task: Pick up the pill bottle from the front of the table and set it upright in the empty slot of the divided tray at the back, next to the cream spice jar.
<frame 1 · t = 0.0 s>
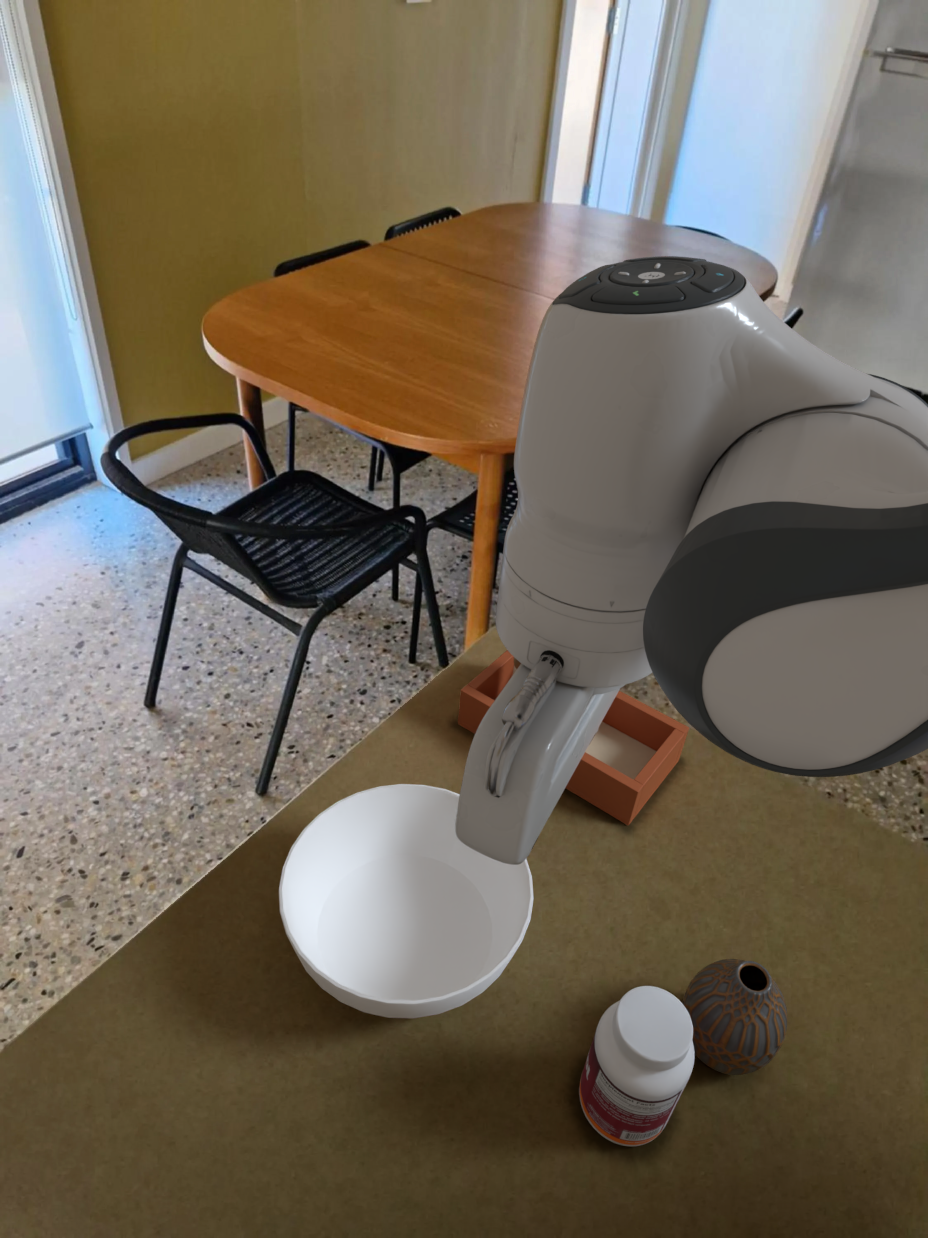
hand: (550, 786, 52), 22 cm above the counter, tool pointing down, fingers open, 8 cm apart
pill bottle: (622, 1102, 60), on the counter
divided tray: (566, 742, 86), on the counter
bowl: (405, 938, 69), on the counter
spice jar: (529, 716, 87), point 1 cm above the counter, touching divided tray
vase: (719, 1041, 64), on the counter
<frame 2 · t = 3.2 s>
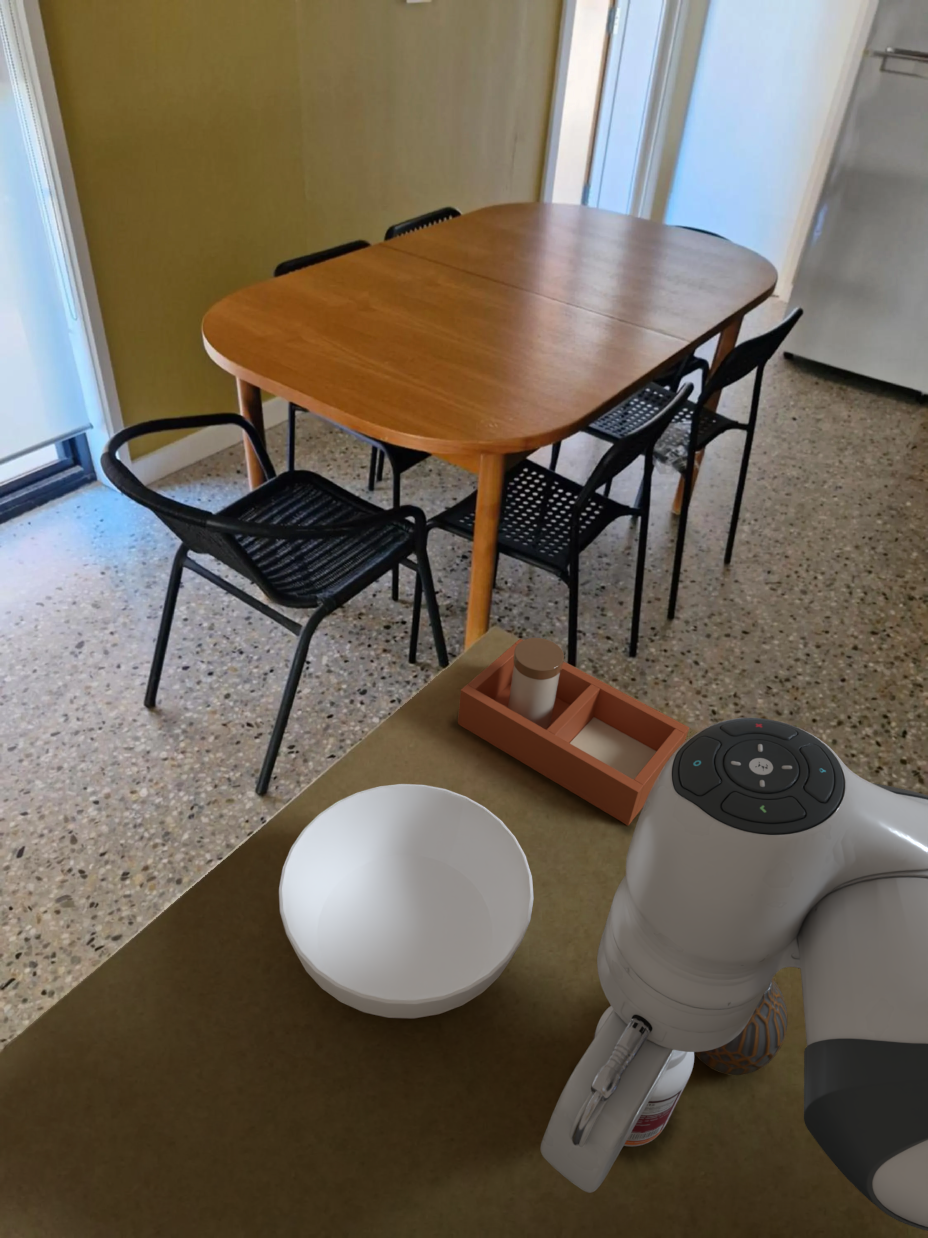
hand: (633, 1072, 58), 4 cm above the counter, tool pointing down, fingers closed on pill bottle, 6 cm apart
pill bottle: (621, 1102, 60), on the counter, touching gripper
everything else where it was.
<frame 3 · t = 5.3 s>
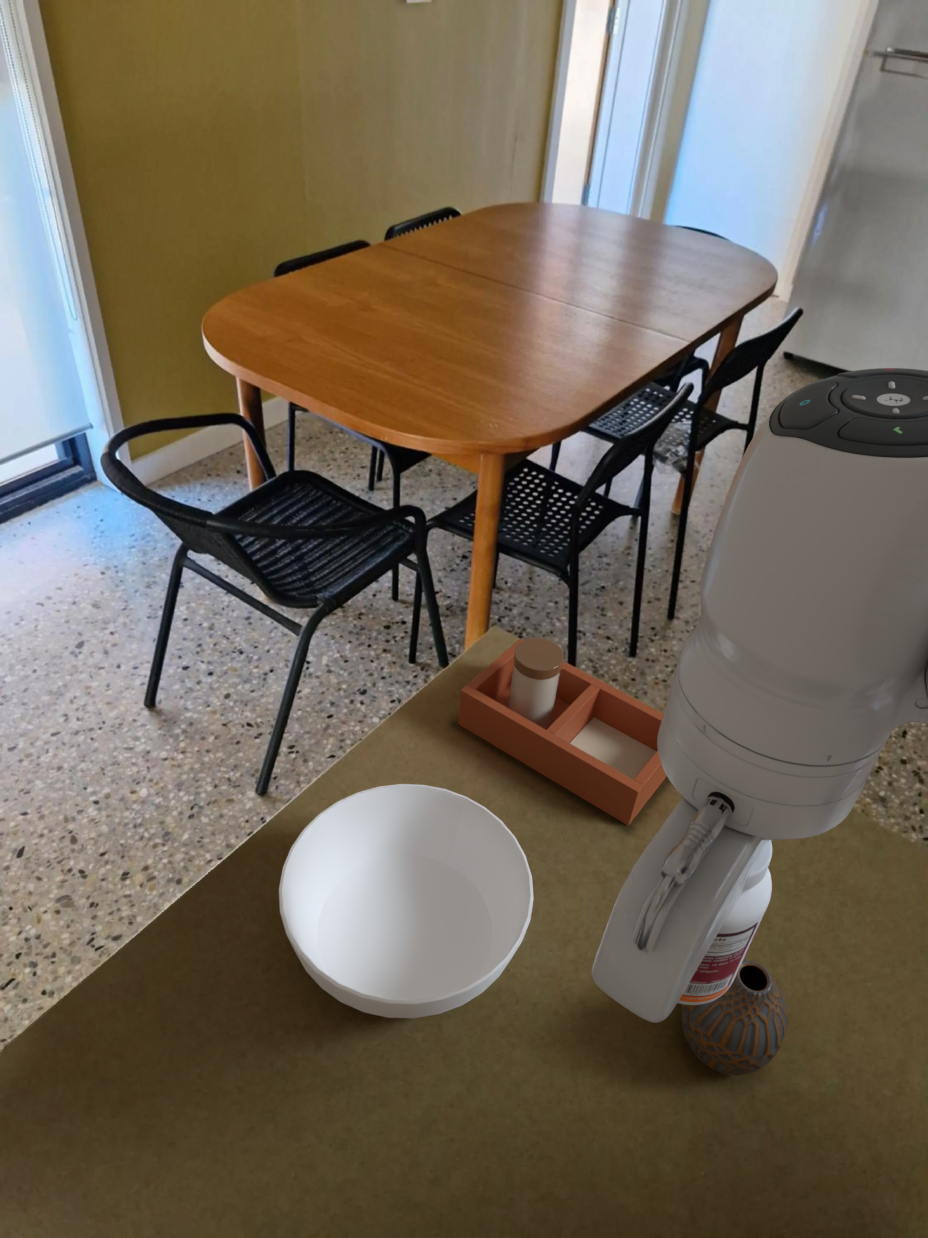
hand: (695, 914, 48), 21 cm above the counter, tool pointing down, fingers closed on pill bottle, 6 cm apart
pill bottle: (678, 959, 50), point 17 cm above the counter, touching gripper
everything else where it was.
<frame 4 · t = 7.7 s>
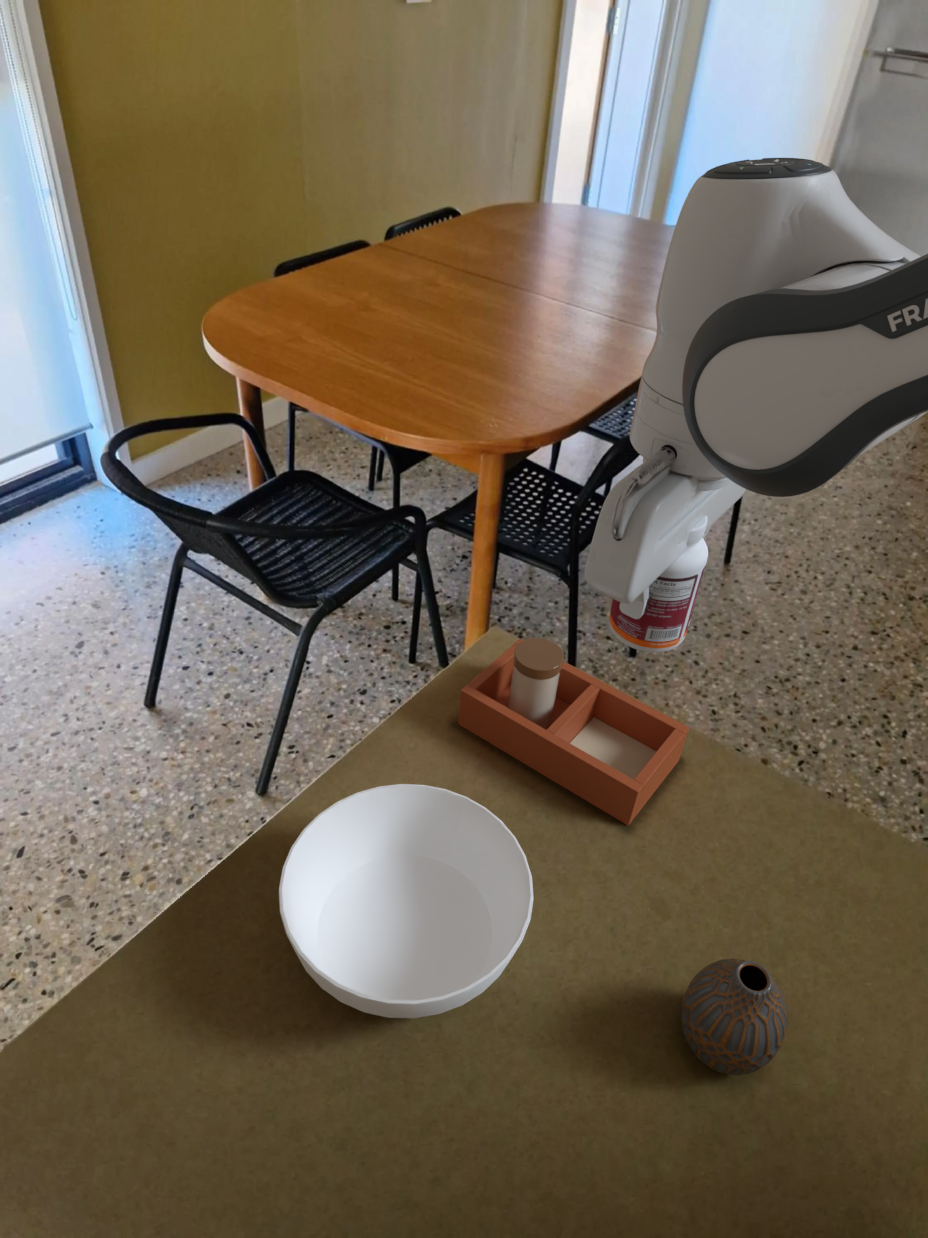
hand: (657, 588, 68), 22 cm above the counter, tool pointing down, fingers closed on pill bottle, 6 cm apart
pill bottle: (645, 632, 71), point 18 cm above the counter, touching gripper
everything else where it was.
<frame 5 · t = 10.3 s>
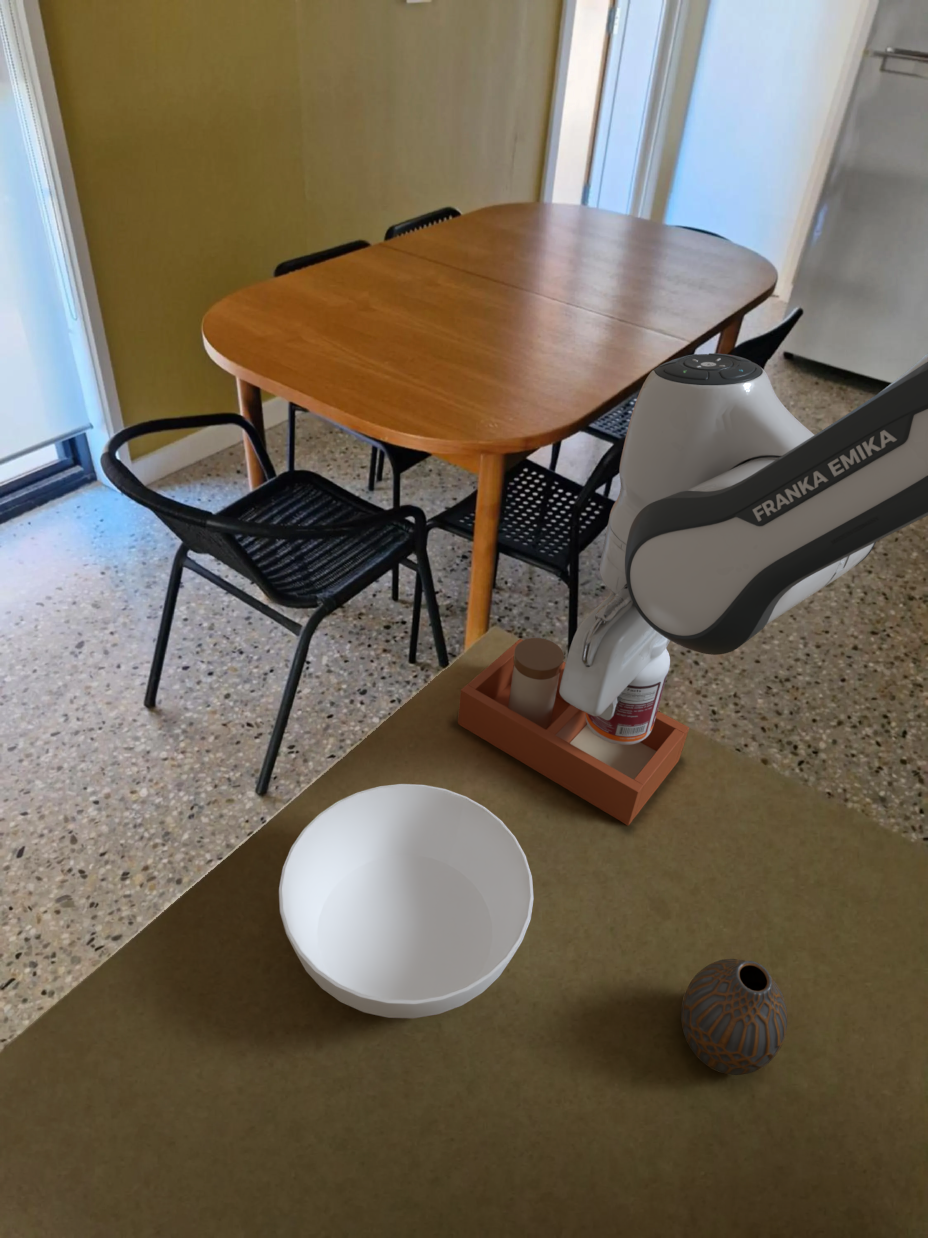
hand: (626, 689, 77), 10 cm above the counter, tool pointing down, fingers closed on pill bottle, 6 cm apart
pill bottle: (617, 724, 80), point 6 cm above the counter, touching gripper
everything else where it was.
when the fingers open (5 cm above the counter, at t = 12.2 s): pill bottle stays where it is, resting on divided tray.
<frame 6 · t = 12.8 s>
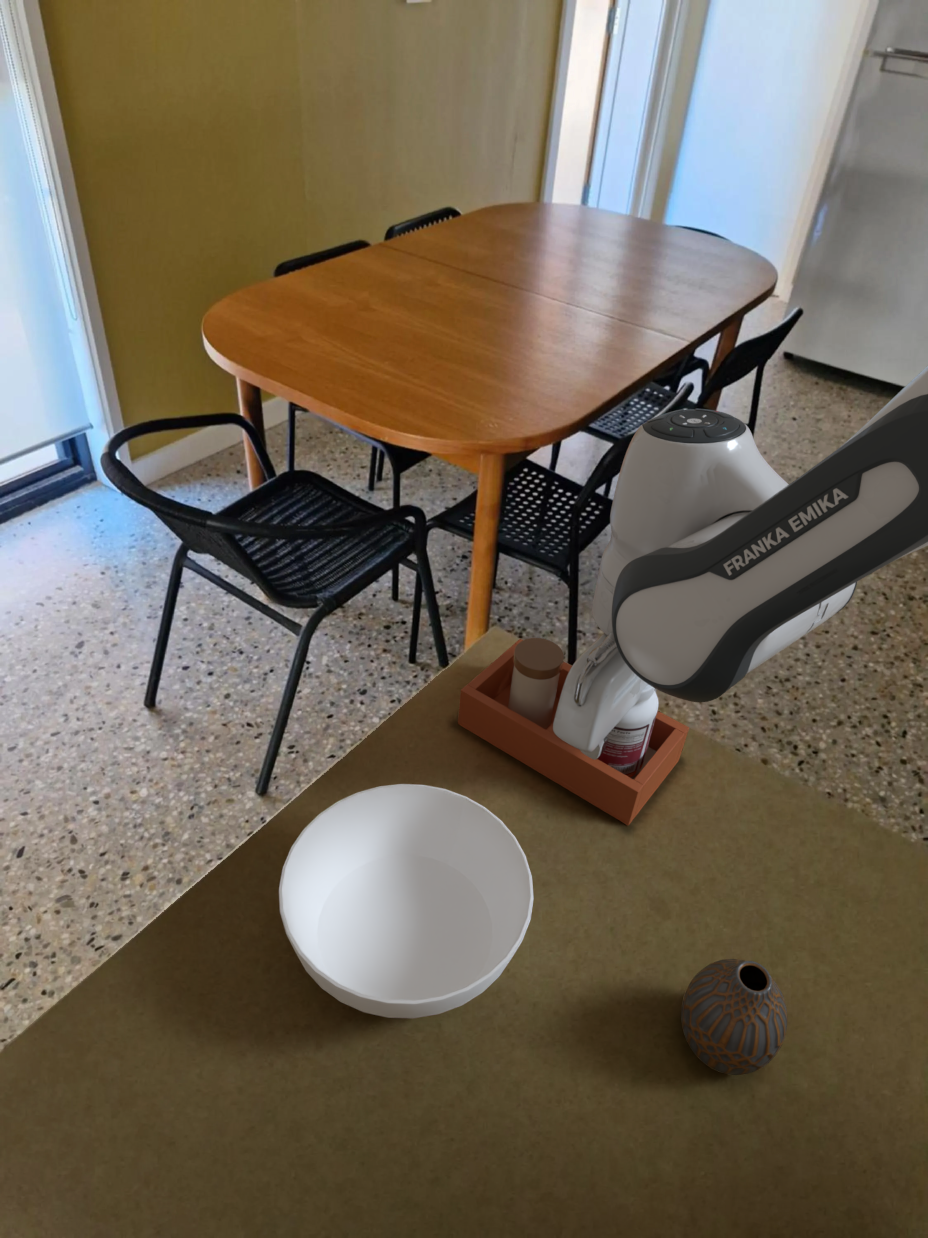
hand: (618, 722, 80), 6 cm above the counter, tool pointing down, fingers open, 8 cm apart
pill bottle: (608, 761, 83), point 1 cm above the counter, touching divided tray
everything else where it was.
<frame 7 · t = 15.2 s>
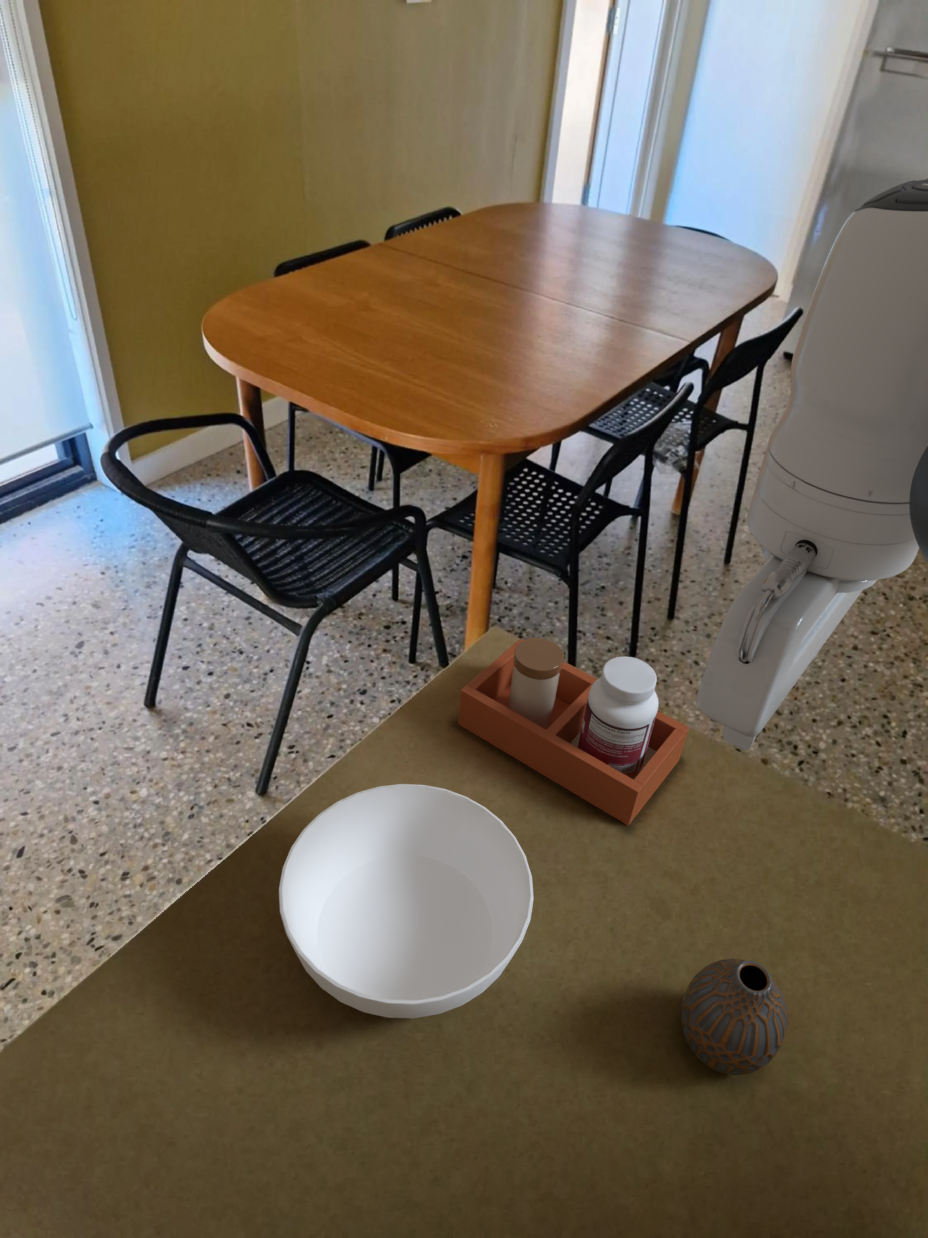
hand: (770, 697, 56), 25 cm above the counter, tool pointing down, fingers open, 8 cm apart
nothing on the counter moved.
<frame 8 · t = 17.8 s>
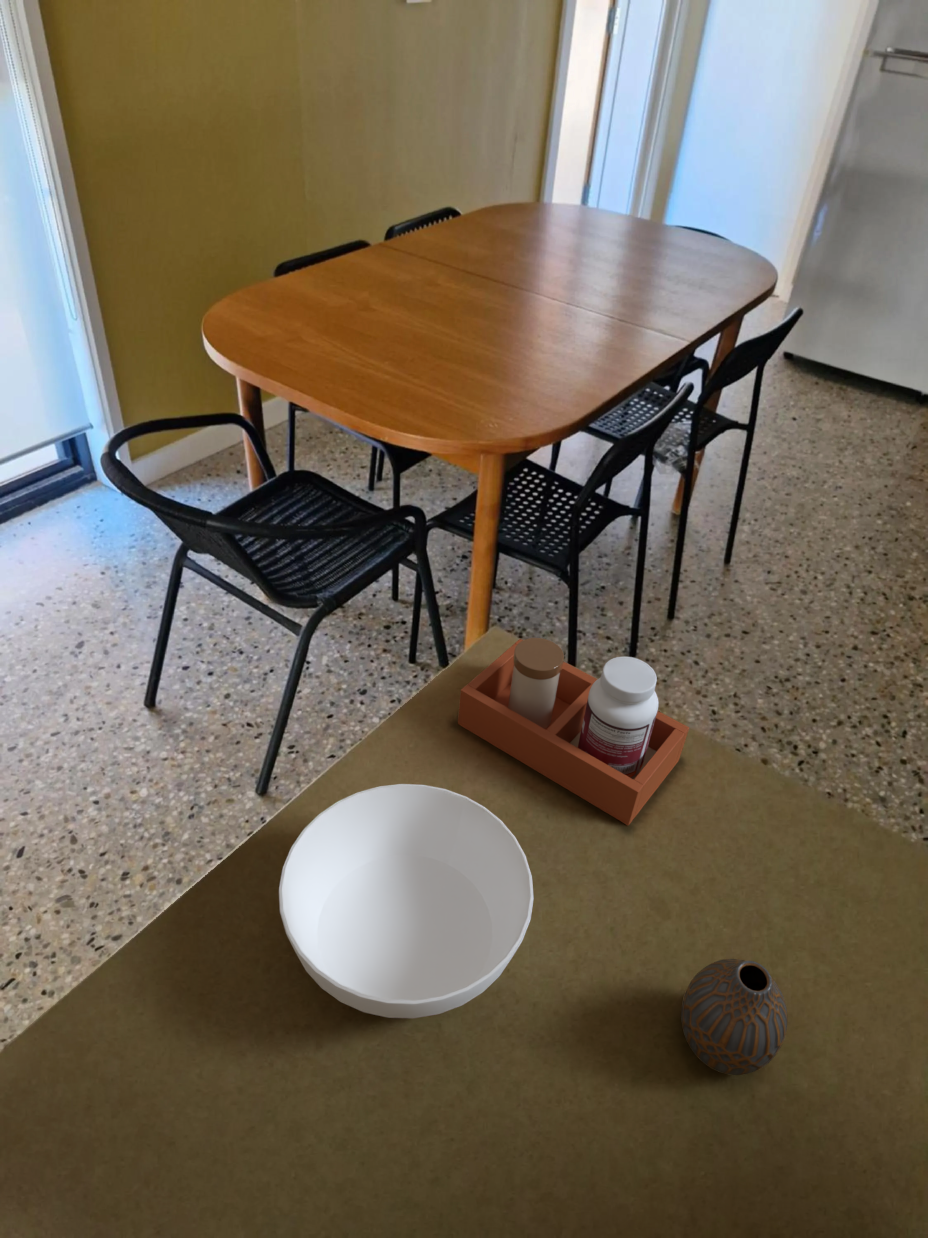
nothing on the counter moved.
at the end: pill bottle 0.1 cm from the target spot in the divided tray, point 0.6 cm above the divided tray's base; pill bottle tilted 0°; the gripper is holding nothing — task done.
